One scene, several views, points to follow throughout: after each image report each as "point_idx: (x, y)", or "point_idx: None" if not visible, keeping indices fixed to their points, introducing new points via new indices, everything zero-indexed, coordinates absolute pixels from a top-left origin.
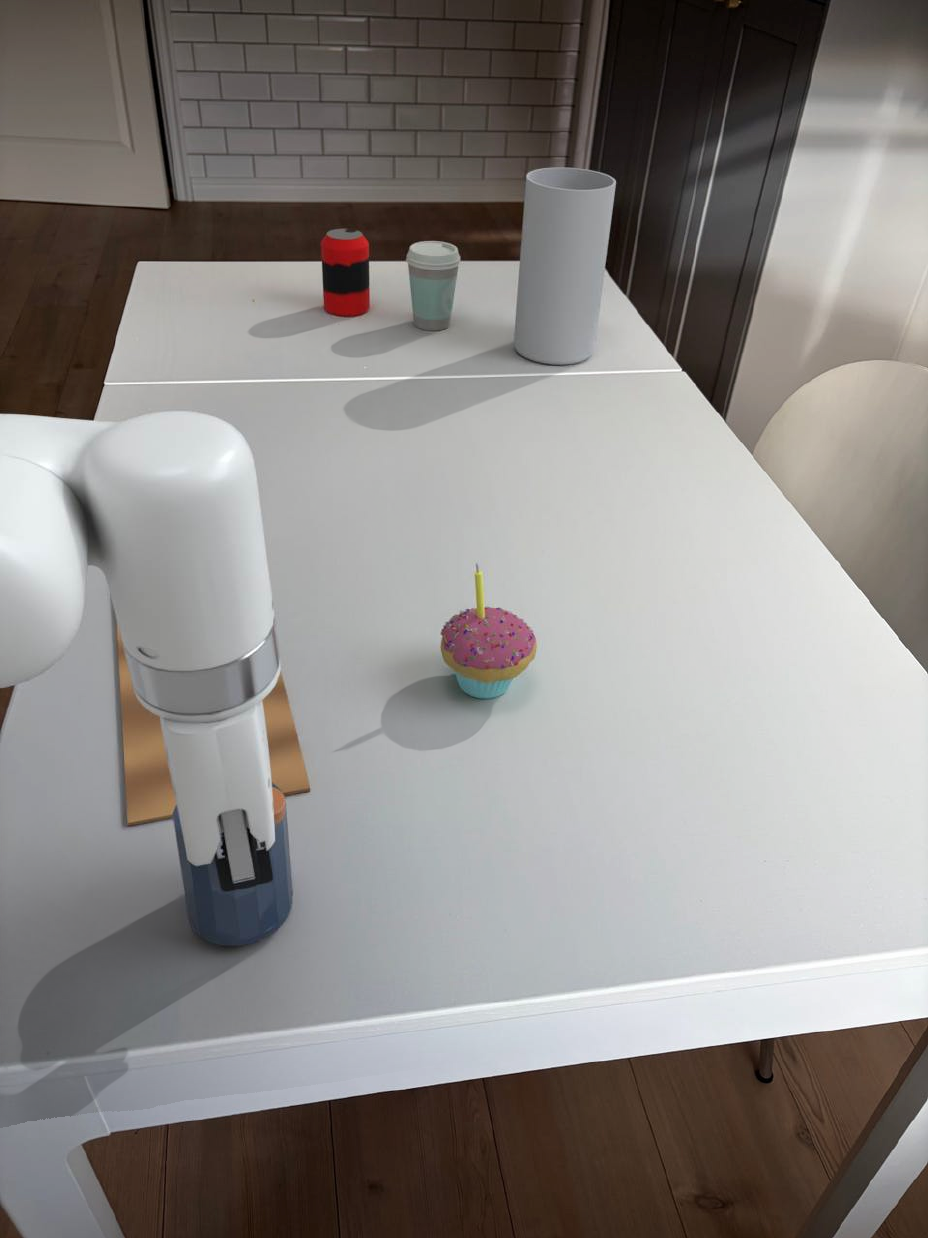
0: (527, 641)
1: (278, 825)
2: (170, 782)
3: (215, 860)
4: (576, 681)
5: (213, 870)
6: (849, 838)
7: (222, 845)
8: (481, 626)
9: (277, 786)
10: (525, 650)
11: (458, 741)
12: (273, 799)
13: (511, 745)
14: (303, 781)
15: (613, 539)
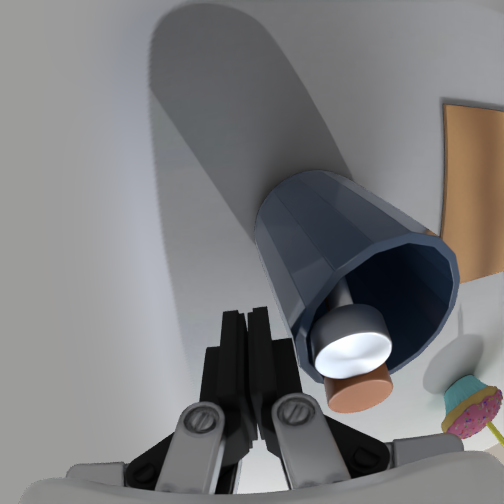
0: None
1: None
2: (481, 155)
3: (219, 371)
4: (429, 424)
5: (287, 280)
6: (280, 488)
7: (147, 482)
8: (480, 425)
9: None
10: None
11: (424, 381)
12: (359, 404)
13: (404, 406)
14: None
15: (496, 419)
